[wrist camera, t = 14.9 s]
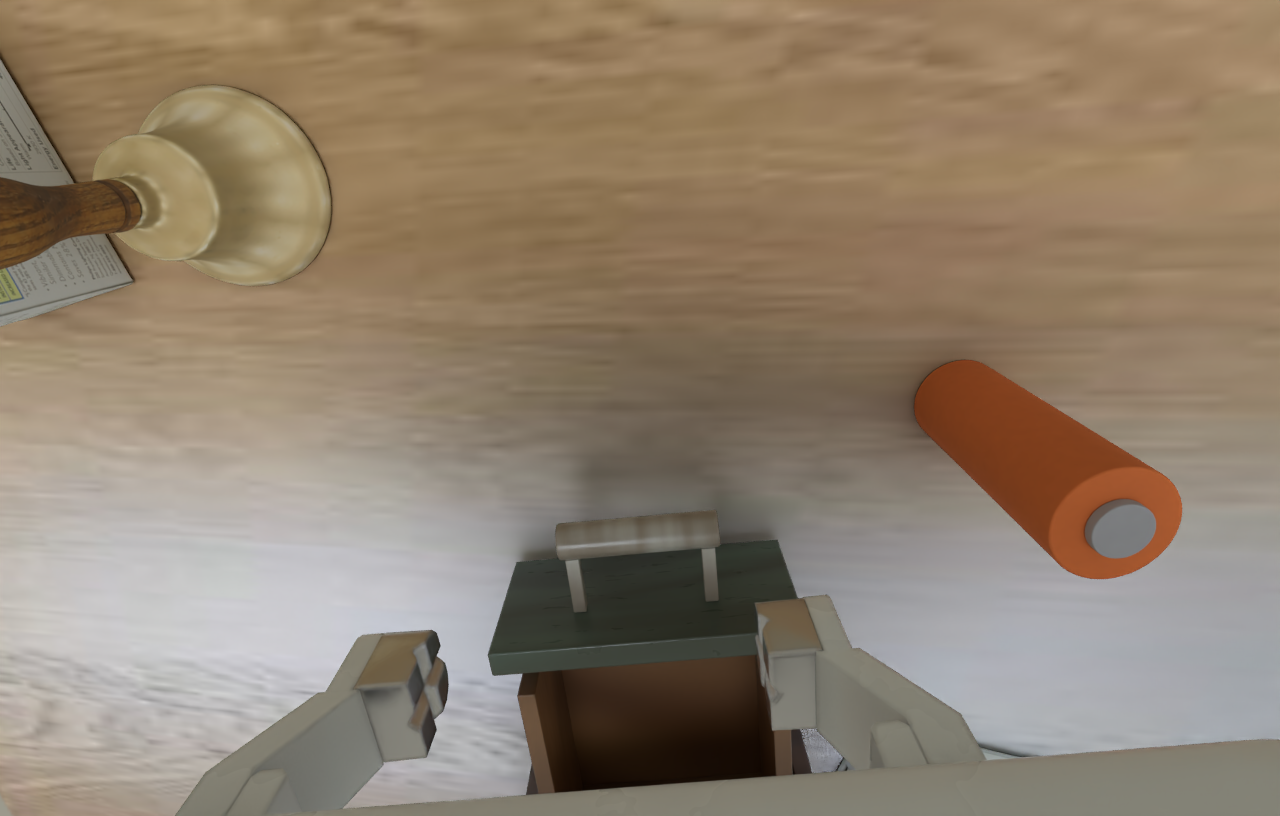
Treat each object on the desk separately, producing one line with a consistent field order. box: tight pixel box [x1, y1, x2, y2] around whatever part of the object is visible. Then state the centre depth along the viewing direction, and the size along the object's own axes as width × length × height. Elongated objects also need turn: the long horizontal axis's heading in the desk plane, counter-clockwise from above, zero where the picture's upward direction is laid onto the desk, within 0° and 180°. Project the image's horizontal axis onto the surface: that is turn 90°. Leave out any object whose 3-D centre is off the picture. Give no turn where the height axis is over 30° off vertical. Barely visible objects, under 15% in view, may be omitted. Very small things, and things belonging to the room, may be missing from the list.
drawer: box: [488, 510, 798, 794], centre depth 33 cm, size 20×14×7 cm
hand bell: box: [0, 85, 331, 286], centre depth 21 cm, size 8×8×16 cm
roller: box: [914, 360, 1182, 579], centre depth 27 cm, size 4×4×12 cm
